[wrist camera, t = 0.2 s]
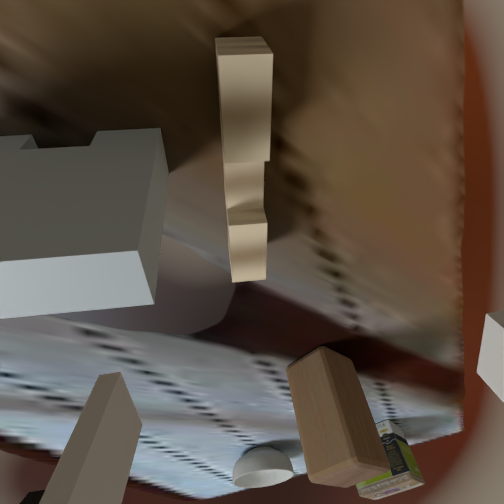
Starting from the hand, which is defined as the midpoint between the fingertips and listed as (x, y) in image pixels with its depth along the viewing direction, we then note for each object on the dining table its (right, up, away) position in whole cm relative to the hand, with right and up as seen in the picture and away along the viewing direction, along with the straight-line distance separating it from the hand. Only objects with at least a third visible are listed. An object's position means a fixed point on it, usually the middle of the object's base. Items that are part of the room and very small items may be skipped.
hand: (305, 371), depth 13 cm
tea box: (+32, -47, +87) cm, 104 cm away
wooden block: (+11, -17, +56) cm, 60 cm away
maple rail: (-3, +14, +25) cm, 29 cm away
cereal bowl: (0, -53, +87) cm, 102 cm away
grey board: (-20, +14, +22) cm, 33 cm away
